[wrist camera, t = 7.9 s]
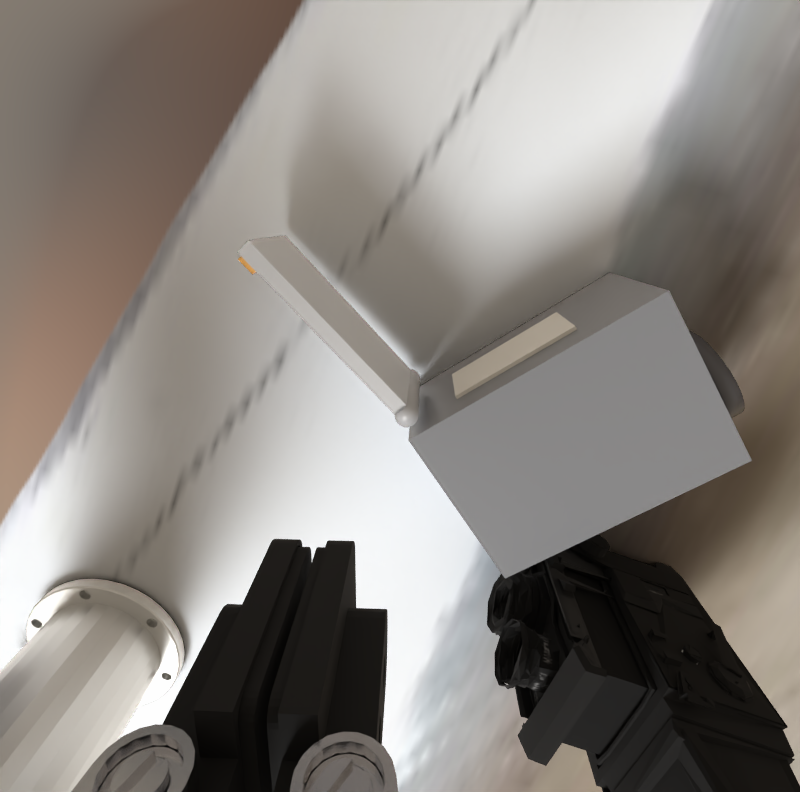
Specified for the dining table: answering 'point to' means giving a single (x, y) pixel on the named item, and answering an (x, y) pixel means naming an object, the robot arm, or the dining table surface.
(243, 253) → the side door
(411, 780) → the dining table surface
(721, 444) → the grey device box
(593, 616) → the camera
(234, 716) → the robot arm
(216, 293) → the dining table surface
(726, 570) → the dining table surface
